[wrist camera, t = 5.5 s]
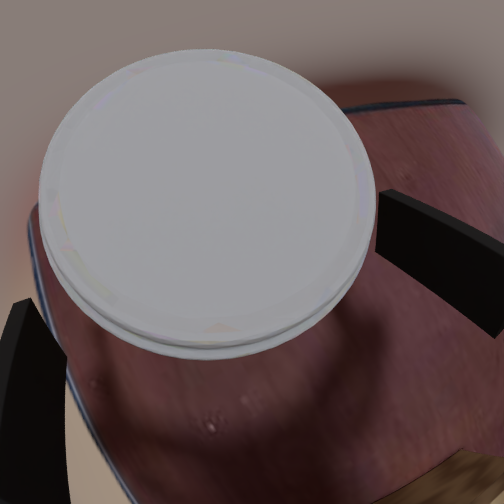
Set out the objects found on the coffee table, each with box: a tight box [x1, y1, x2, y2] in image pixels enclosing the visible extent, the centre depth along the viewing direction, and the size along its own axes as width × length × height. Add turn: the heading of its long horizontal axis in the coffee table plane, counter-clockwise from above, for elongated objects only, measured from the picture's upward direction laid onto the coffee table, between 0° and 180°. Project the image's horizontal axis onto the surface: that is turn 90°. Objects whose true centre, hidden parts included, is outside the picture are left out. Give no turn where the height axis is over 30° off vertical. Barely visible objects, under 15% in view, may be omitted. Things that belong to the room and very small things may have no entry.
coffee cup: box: [39, 49, 376, 360], centre depth 13 cm, size 9×9×12 cm
